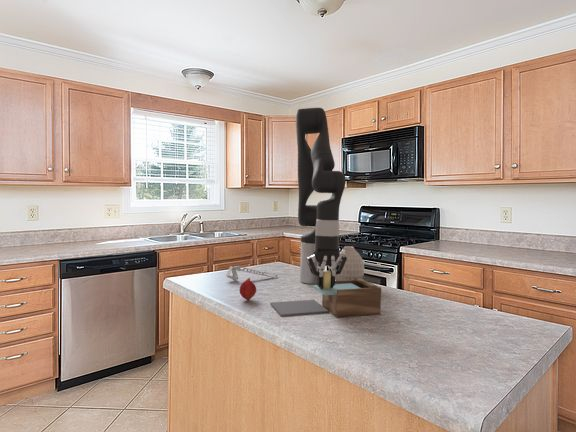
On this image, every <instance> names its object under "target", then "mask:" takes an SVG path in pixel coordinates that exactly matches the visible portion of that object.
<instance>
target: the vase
mask: <svg viewBox="0 0 576 432" xmlns="http://www.w3.org/2000/svg"><path fill="white" fill-rule="evenodd" d="M339 253H340V255H342V256H345V257H347V260H346V262H345V264H344V267H343V269H342V272H341V274H337V275H336V276H335V281H340V280H354V277H359V278H361V279H363V277H364V275H365V264H364V261H363V258H362V256H361V254H360V253H359V251H357V250H356V249H355V247H354V246H349V245H348V246H346V245H345V246H344V247H343V248H342V250H340V251H339ZM337 263H338V259H337V260H336V262H335V266H337Z"/></svg>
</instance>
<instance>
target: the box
mask: <svg viewBox="0 0 576 432" xmlns="http://www.w3.org/2000/svg"><path fill="white" fill-rule="evenodd" d="M343 283H352V284H354V285H356V286H358V287H360V288H357V289H341V290H337V295H324V294H322V298H321V299H322V300H321V301H322V304H321V305H322V306H323V307H324V308H326V309H327V310H328V311H329V313H330V314H332V315H333V316H334V317H335V318H337V319H341V318H353V317H364V316H376V315H381V307H382V306H381V305H382V302H381V301H382V287H381V286H379V285H376V284H374V283H372V282H370V281H368V280H365V279H363V278H362V279H361V278H359V277H354V280H340V281H336V280H335V284H343Z"/></svg>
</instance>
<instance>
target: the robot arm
mask: <svg viewBox="0 0 576 432" xmlns="http://www.w3.org/2000/svg"><path fill="white" fill-rule="evenodd" d="M295 130H296V131H295V132H296V144H297V182H298V183H297V184H298V202H297V203H298V205H297V206H298V209H297V210H298V211H297V221H298V224H299V225H300V227H314V230H312V231H310V232H307V233H305V234H302V235H301V236H300V265H299V266H300V268H299V271H300V272H299V282H300V283H303V284H311V285H317V286H318V287H319V288H320V289H322V288H323V277H322V276H323V272H324V270H325V268H326V267H327V268H328V271H331V288H333V286H334V285H335V281H336V280H335V276H336V275H337V274H341V272H342V269H343V267H344V264H345V262H346V260H347V257H345V256H342V255H340V253H339V252H340V251H339V249H340V221H339V219H340V217H339V215H340V205H341V202H342V201H341V200H342V197H343V193H344V191H345V187H346V182H347V181H346V176H345V174H344V173H343V171H339V170H334V169H335V166H336V165H335V160H334V156H333V153H332V149H331V148H332V147H331V143H330V135H329V126H328V118H327V115H326V112H325V109H324V108H323V107H308V108H306V107H305V108H299V109H297V111H296V112H295ZM313 134H314V135H315V134H318V136H317V138H316V140H314V142H313V144H312V146H311V147H310V145H309V143H308V141H307V139H306V135H313ZM314 191H315V192H316V193H318V194H331V195H330V197H329V198H328V199H326V200H321V201H318V202H317V204H316V205H313V204H307V202H308V199H309V198H310V196H311V195H312V194H313V192H314ZM337 259H338V263H337V266H335V262H336V260H337Z"/></svg>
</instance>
